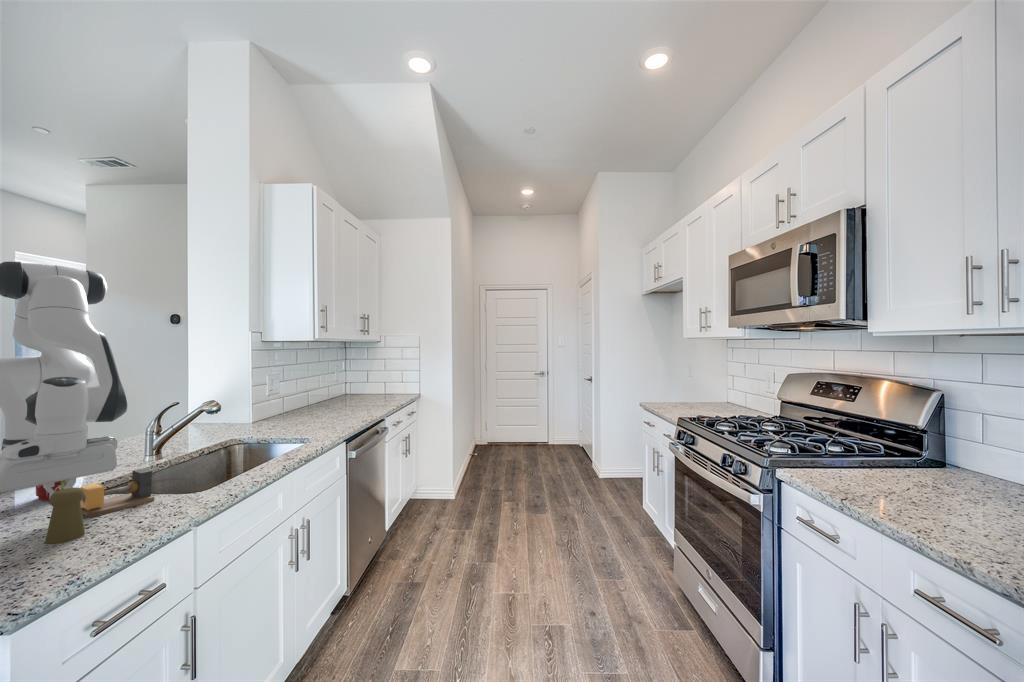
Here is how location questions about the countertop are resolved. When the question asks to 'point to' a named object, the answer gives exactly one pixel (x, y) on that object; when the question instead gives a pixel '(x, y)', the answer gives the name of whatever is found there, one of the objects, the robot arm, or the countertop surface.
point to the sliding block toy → (138, 496)
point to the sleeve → (93, 496)
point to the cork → (65, 516)
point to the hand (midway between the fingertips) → (59, 498)
